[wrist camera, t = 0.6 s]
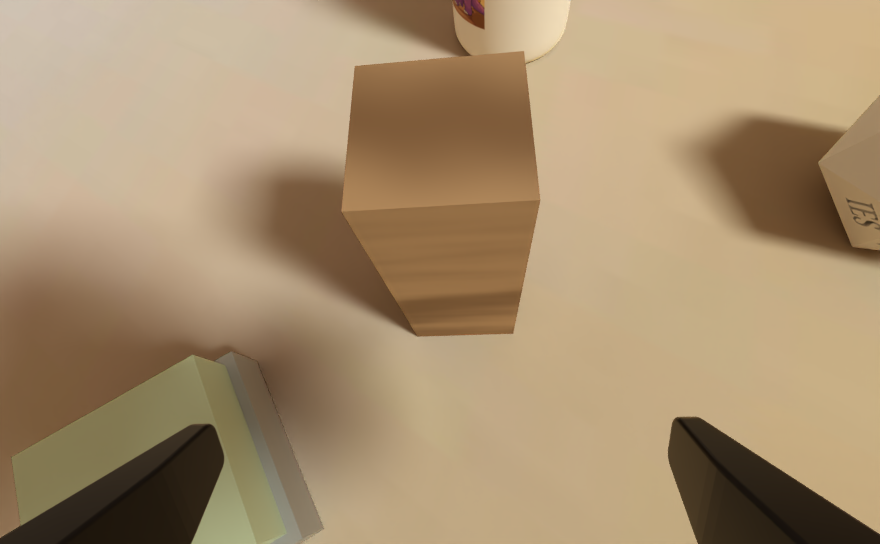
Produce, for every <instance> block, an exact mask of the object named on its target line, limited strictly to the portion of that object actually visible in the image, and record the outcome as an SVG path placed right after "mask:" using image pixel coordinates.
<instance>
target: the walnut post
mask: <svg viewBox="0 0 880 544" xmlns="http://www.w3.org/2000/svg"><path fill="white" fill-rule="evenodd" d="M539 204H540V193H539V184H538V175H537V166H536V157H535V147H534V138H533V129H532V120H531V110H530V101H529V92H528V83H527V73H526V64H525V55H524V51H518V52H507V53H496V54H484V55H473V56H462V57H451V58H440V59H429V60H418V61H407V62H396V63H384V64H373V65H362V66H355V70H354V80H353V91H352V102H351V113H350V123H349V134H348V145H347V155H346V166H345V177H344V188H343V198H342V209H341V212H342V214H343V215H344V217H345V219H346V220H347V222H348V224H349V225H350V227H351V228H352V230H353V232H354V233H355V235H356V237H357V238H358V240H359V242H360V243H361V245H362V246H363V248H364V250H365V251H366V253H367V255H368V256H369V258H370V260H371V261H372V263H373V264H374V266H375V268H376V269H377V271H378V273H379V274H380V276H381V278H382V279H383V281H384V282H385V284H386V286H387V287H388V289H389V291H390V292H391V294H392V296H393V297H394V299H395V300H396V302H397V304H398V305H399V307H400V309H401V310H402V312H403V314H404V315H405V317H406V318H407V320H408V322H409V323H410V325H411V327H412V328H413V330H414V332H415V333H416V335H417V336H449V335H481V334H513V331H514V326H515V321H516V316H517V312H518V307H519V302H520V297H521V292H522V287H523V282H524V277H525V272H526V267H527V262H528V258H529V253H530V248H531V243H532V238H533V233H534V228H535V223H536V218H537V213H538V208H539Z"/></svg>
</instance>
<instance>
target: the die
mask: <svg viewBox="0 0 880 544" xmlns="http://www.w3.org/2000/svg"><path fill="white" fill-rule="evenodd" d="M818 164H819V167H820V169H821V171H822V174H823V176H824V179H825V181H826V184H827V186H828V189H829V191H830V194H831V196H832V199H833V201H834V203H835V206H836V208H837V211H838V213H839V216H840V218H841V221H842V223H843V226H844V228H845V231H846V233H847V236H848V238H849V240H850V243H851V245H852V247H856V248H864V249H872V250H880V95H879V97H878V98H877V99H876V100H875V101H874V102H873V103H872V104H871V105H870V106H869V107H868V109H867V110H866V111H865V112H864V113H863V114H862V115H861V116H860V117H859V118H858V119H857V121H856V122H855V123H854V124H853V125H852V126H851V127H850V128H849V129H848V130H847V131H846V133H845V134H844V135H843V136H842V137H841V138H840V139H839V140H838V141H837V142H836V143H835V145H834V146H833V147H832V148H831V149H830V150H829V151H828V152H827V153H826V154H825V155H824V157H823V158H822V159H821V160H820V161H819V162H818Z"/></svg>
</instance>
